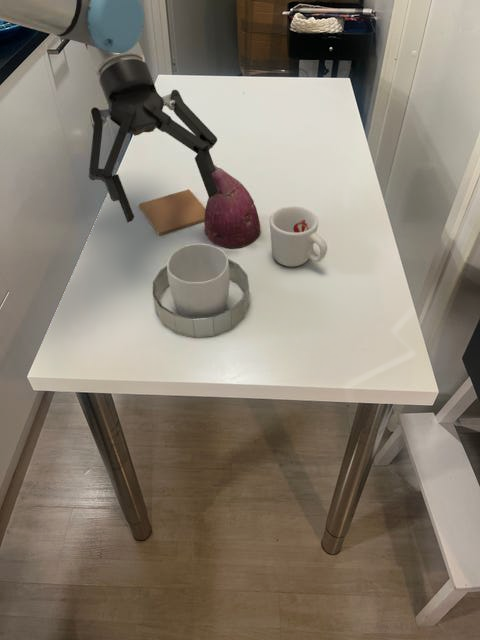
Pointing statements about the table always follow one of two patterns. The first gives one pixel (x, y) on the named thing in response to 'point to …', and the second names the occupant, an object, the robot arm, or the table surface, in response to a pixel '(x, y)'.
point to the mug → (199, 280)
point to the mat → (173, 211)
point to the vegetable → (230, 213)
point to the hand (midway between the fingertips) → (173, 207)
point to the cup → (295, 236)
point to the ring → (202, 324)
